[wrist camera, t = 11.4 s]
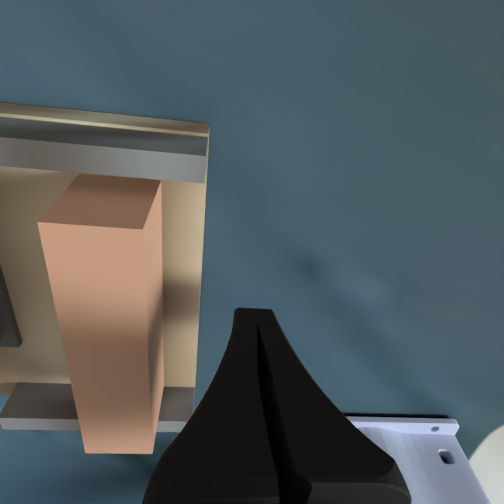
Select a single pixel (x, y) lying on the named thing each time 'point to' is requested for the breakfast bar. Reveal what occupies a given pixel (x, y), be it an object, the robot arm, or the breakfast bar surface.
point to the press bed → (33, 261)
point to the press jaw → (110, 305)
